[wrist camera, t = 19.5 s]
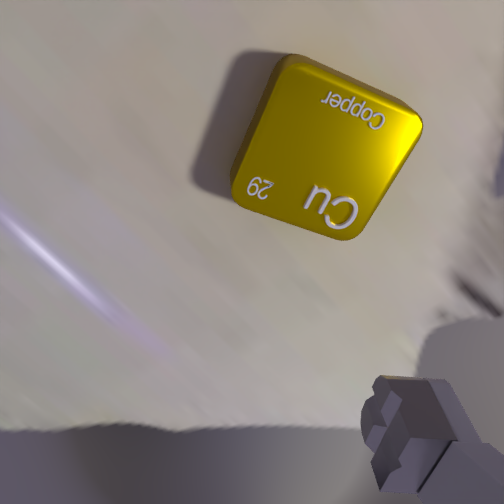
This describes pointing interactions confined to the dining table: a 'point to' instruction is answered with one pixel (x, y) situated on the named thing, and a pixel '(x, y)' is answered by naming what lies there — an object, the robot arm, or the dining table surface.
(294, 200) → the element tile
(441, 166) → the dining table surface
